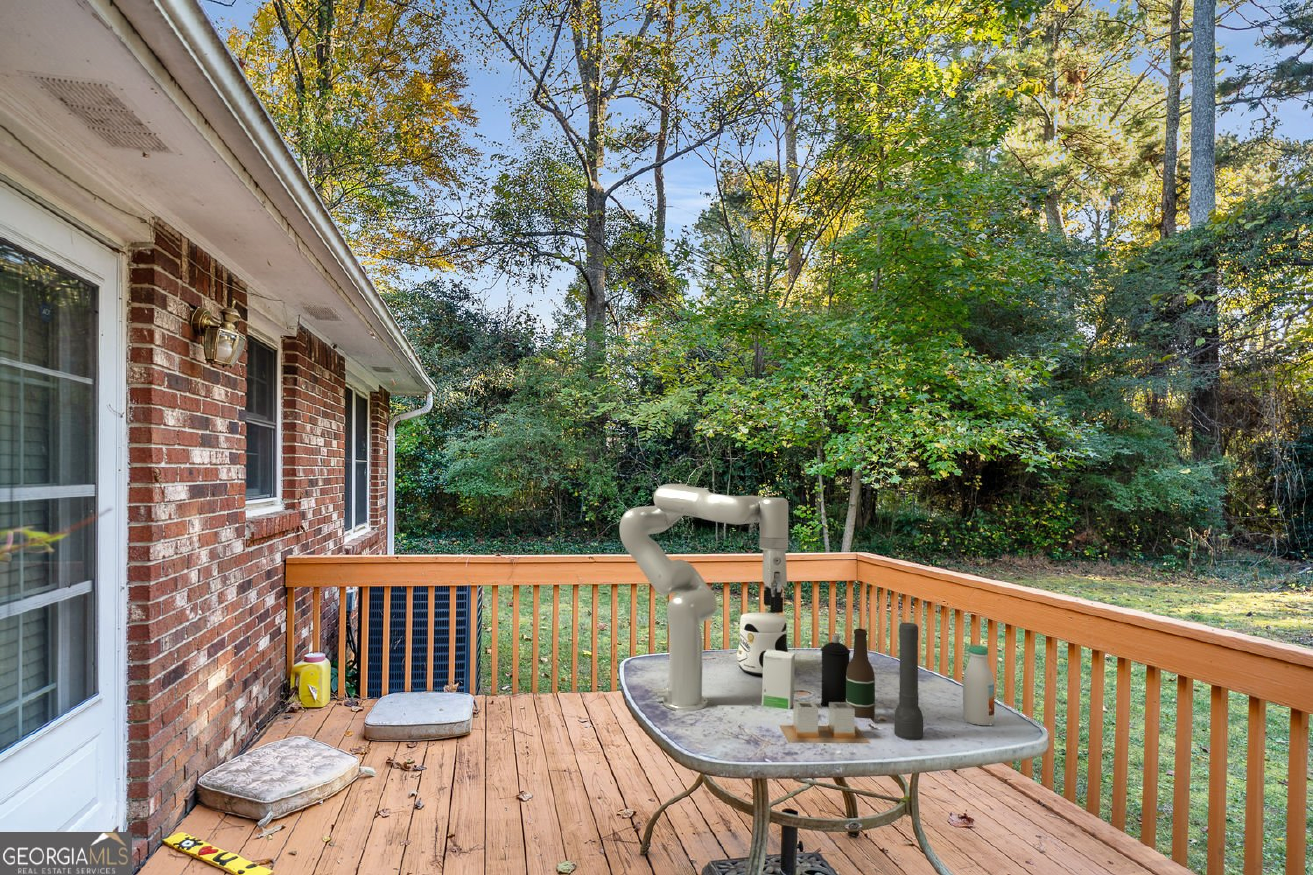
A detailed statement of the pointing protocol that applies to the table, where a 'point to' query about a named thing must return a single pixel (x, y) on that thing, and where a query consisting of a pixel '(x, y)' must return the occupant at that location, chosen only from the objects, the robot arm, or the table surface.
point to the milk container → (760, 639)
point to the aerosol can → (834, 671)
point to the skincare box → (778, 679)
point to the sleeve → (841, 720)
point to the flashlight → (908, 686)
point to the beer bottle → (861, 679)
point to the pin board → (822, 736)
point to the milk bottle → (978, 688)
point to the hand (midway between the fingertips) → (773, 608)
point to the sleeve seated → (805, 720)
